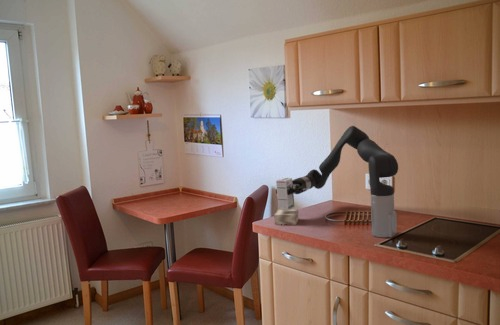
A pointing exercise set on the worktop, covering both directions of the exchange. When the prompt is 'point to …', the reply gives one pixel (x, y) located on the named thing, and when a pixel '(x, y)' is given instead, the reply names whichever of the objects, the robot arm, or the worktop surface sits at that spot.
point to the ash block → (286, 217)
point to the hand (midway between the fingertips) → (282, 192)
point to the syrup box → (284, 194)
